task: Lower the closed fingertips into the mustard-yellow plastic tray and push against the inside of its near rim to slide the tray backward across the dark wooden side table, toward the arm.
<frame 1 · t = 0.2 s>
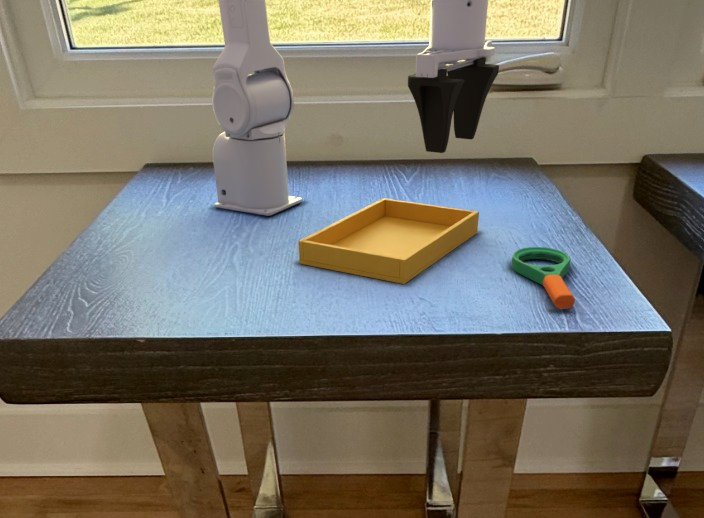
hand: (450, 144, 79), 10 cm above the table, tool pointing down, fingers open, 7 cm apart
magnifying glass: (547, 284, 73), on the table
tray: (392, 247, 82), on the table
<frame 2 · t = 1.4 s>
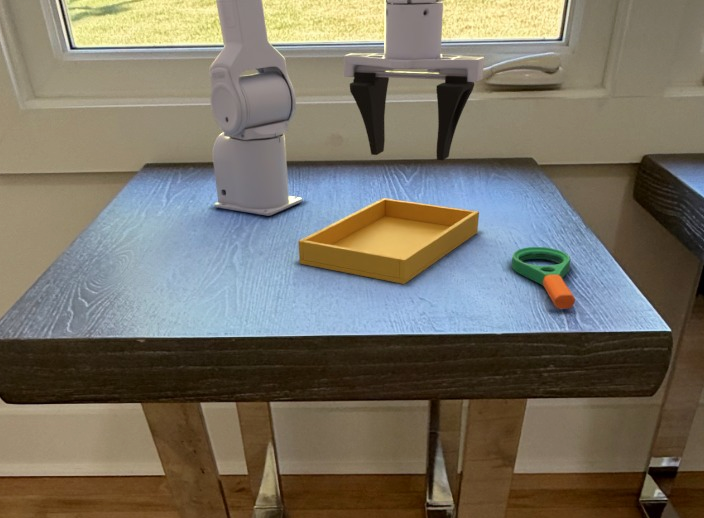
hand: (409, 155, 77), 10 cm above the table, tool pointing down, fingers open, 7 cm apart
nothing on the table moved.
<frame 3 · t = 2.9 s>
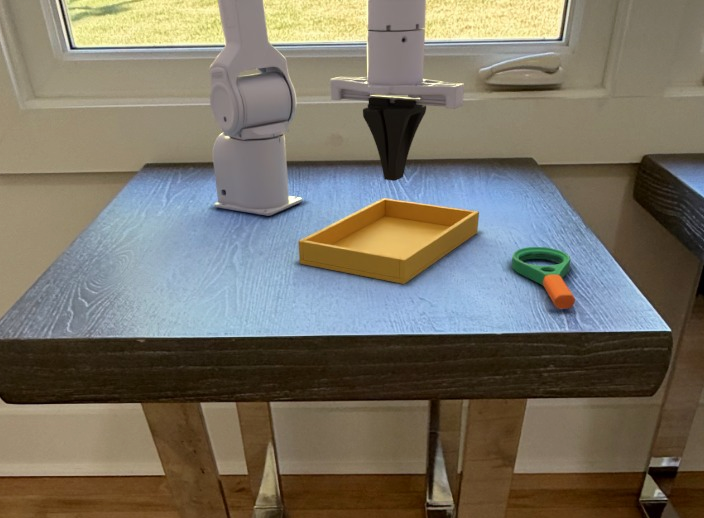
hand: (393, 178, 78), 8 cm above the table, tool pointing down, fingers closed
nothing on the table moved.
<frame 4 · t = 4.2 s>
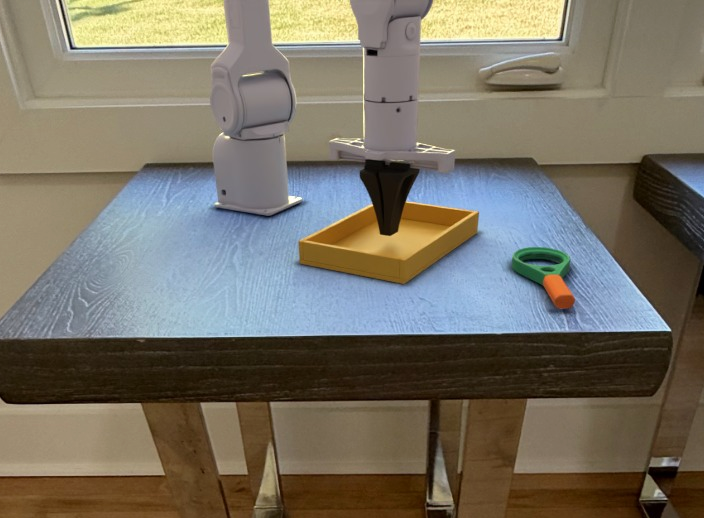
hand: (389, 233, 82), 2 cm above the table, tool pointing down, fingers closed
nothing on the table moved.
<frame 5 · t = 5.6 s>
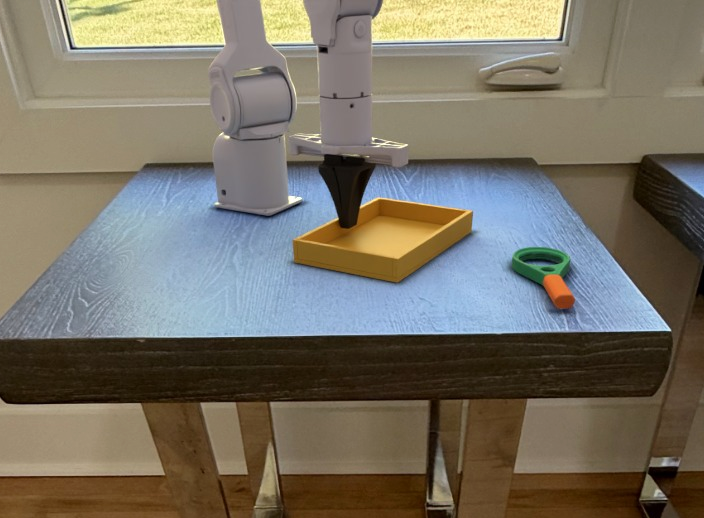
hand: (348, 226, 84), 2 cm above the table, tool pointing down, fingers closed
tray: (386, 246, 83), on the table, touching gripper
everything else where it was.
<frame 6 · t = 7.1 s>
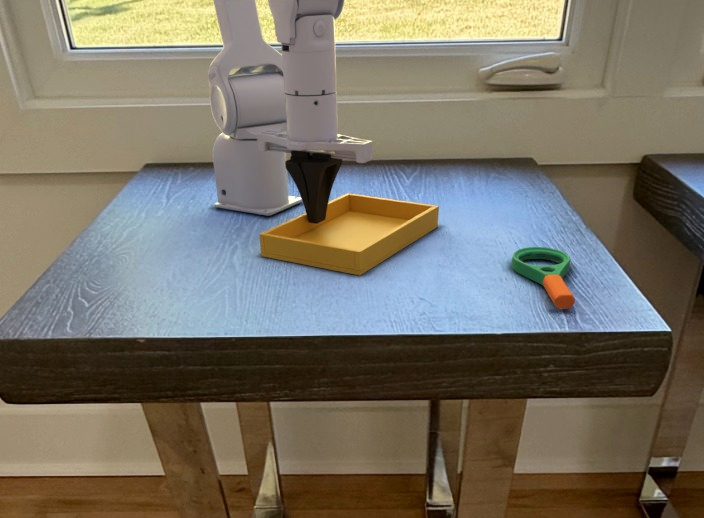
hand: (317, 221, 86), 2 cm above the table, tool pointing down, fingers closed
tray: (353, 240, 85), on the table, touching gripper
everything else where it was.
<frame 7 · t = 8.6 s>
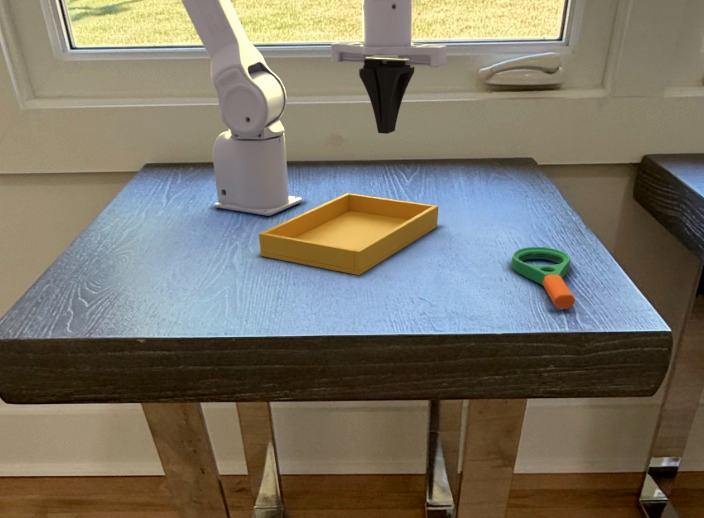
hand: (386, 132, 88), 9 cm above the table, tool pointing down, fingers closed
tray: (352, 240, 85), on the table
everything else where it was.
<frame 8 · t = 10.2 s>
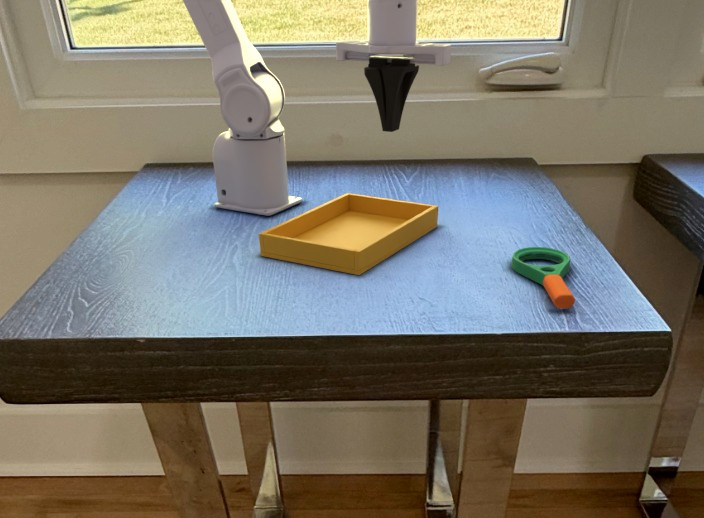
hand: (390, 130, 89), 9 cm above the table, tool pointing down, fingers closed
nothing on the table moved.
at the end: tray moved 5.4 cm from its start; tray inside the target area (0.9 cm from its centre), on the table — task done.
